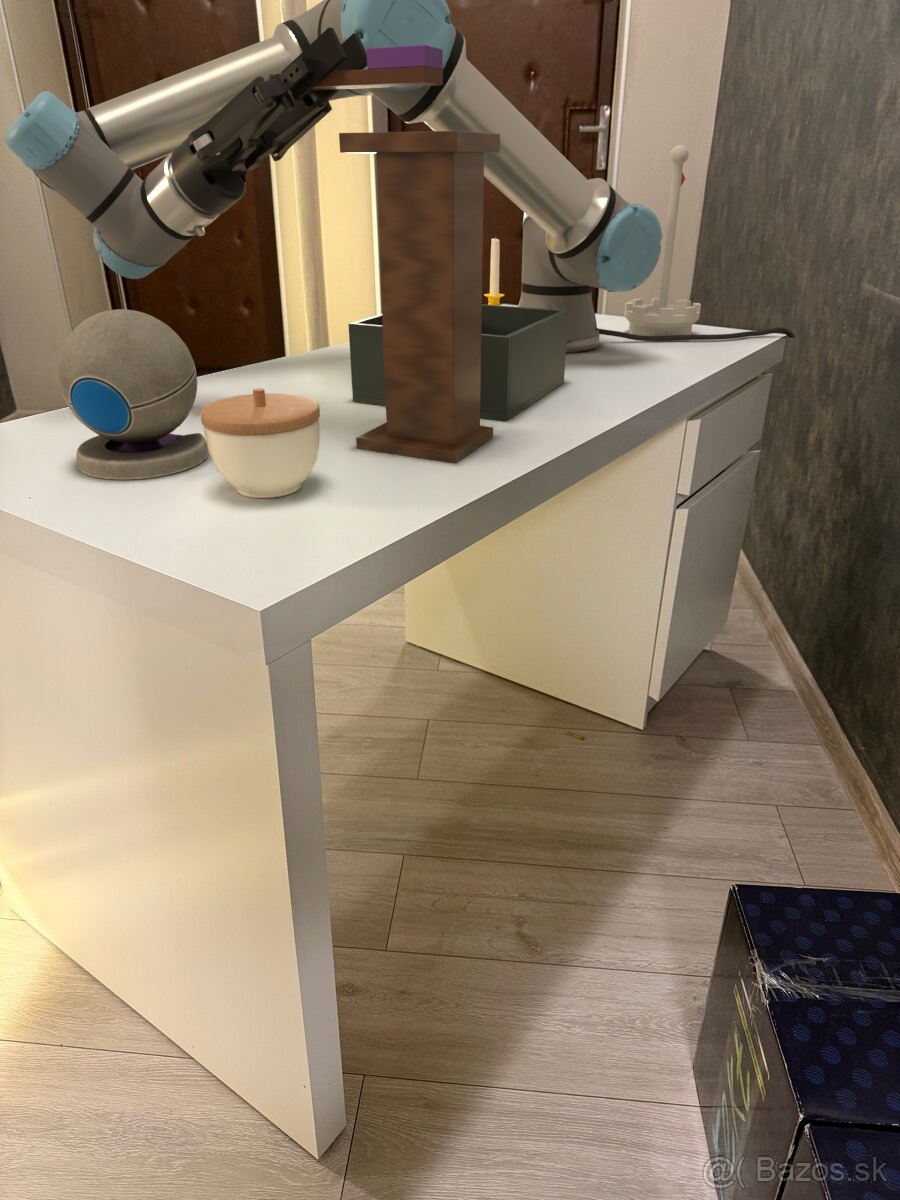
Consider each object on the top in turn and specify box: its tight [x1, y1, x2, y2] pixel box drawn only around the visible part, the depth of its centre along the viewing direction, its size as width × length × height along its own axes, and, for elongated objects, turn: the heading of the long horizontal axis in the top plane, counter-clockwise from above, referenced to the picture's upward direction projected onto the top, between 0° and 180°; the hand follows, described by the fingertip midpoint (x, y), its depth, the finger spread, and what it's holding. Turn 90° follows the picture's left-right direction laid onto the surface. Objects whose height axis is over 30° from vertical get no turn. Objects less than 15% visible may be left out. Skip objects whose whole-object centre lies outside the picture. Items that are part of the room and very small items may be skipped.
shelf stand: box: [338, 130, 500, 464], centre depth 85 cm, size 12×10×30 cm
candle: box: [483, 235, 505, 306], centre depth 155 cm, size 5×5×16 cm
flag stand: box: [623, 144, 702, 336], centre depth 142 cm, size 13×13×30 cm
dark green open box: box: [348, 304, 568, 422], centre depth 110 cm, size 22×22×10 cm
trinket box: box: [200, 387, 321, 499], centre depth 77 cm, size 11×11×9 cm
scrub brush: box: [269, 45, 443, 91], centre depth 78 cm, size 17×4×3 cm, turn 65°
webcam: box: [57, 308, 209, 480], centre depth 83 cm, size 13×13×15 cm
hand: (350, 45), depth 77 cm, fingers closed on scrub brush, 4 cm apart
